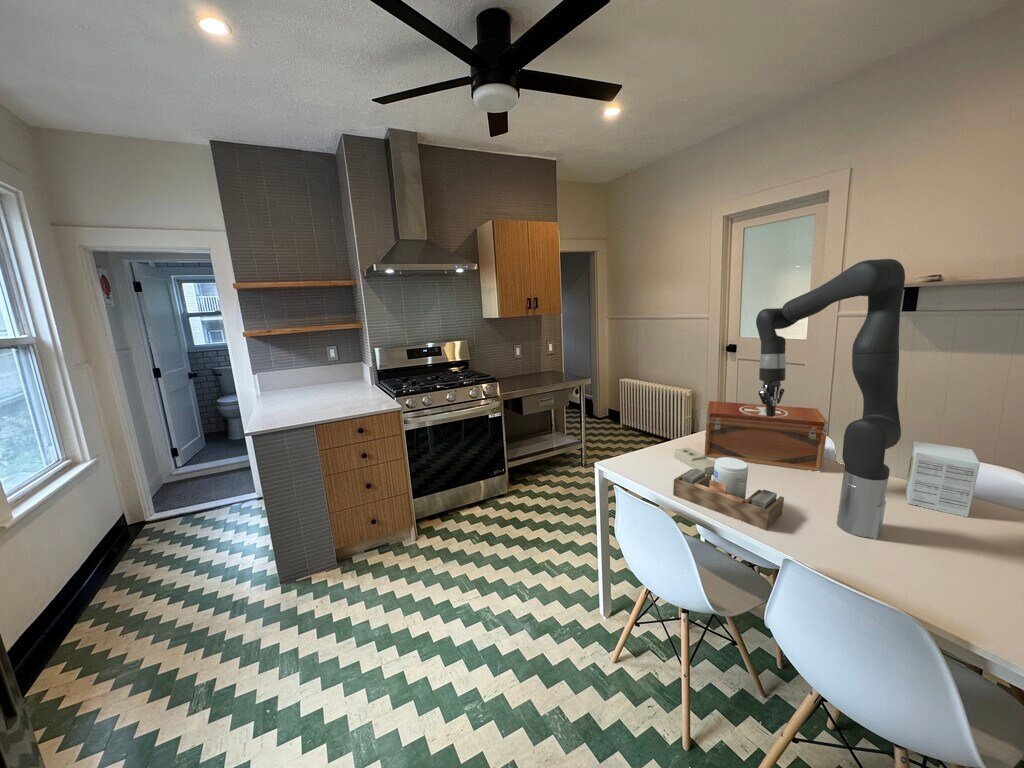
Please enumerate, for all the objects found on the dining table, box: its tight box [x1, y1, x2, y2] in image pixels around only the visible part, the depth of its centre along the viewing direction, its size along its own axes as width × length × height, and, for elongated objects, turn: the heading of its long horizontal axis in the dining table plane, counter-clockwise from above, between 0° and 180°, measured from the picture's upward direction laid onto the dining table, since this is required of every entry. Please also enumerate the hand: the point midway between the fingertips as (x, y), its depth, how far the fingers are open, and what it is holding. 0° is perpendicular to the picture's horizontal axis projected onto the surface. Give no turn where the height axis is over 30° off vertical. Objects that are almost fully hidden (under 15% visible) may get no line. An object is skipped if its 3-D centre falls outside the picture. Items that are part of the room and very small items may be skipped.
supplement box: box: [905, 440, 981, 518], centre depth 121 cm, size 13×13×18 cm
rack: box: [672, 468, 785, 531], centre depth 127 cm, size 29×13×10 cm, turn 38°
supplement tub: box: [712, 457, 749, 501], centre depth 126 cm, size 10×10×15 cm
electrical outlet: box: [673, 447, 715, 475], centre depth 159 cm, size 7×4×18 cm
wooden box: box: [704, 400, 829, 473], centre depth 163 cm, size 20×41×20 cm, turn 61°
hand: (770, 416), depth 135 cm, fingers closed
